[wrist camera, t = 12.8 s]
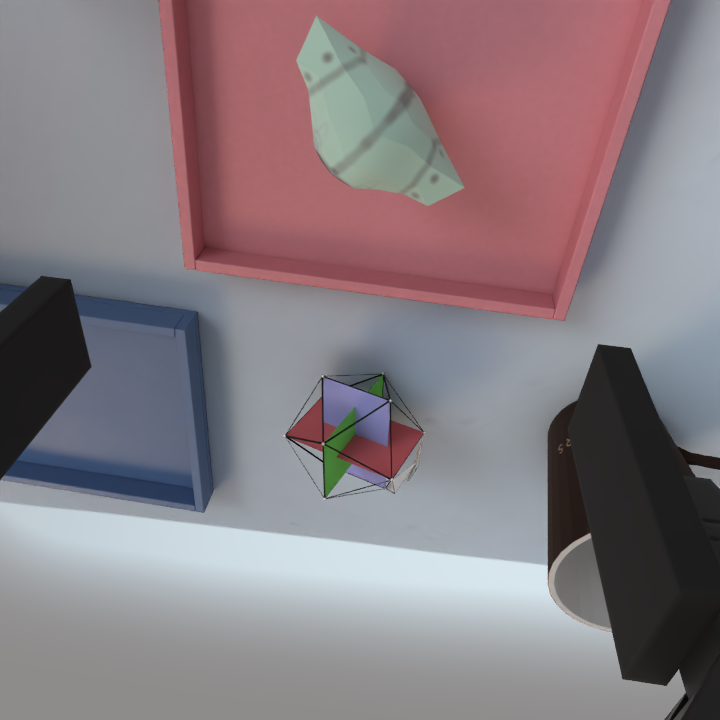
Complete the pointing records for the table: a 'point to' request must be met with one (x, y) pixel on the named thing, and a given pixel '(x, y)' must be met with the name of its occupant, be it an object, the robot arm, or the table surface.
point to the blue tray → (128, 411)
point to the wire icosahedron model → (357, 435)
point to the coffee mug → (582, 527)
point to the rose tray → (451, 121)
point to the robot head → (371, 121)
